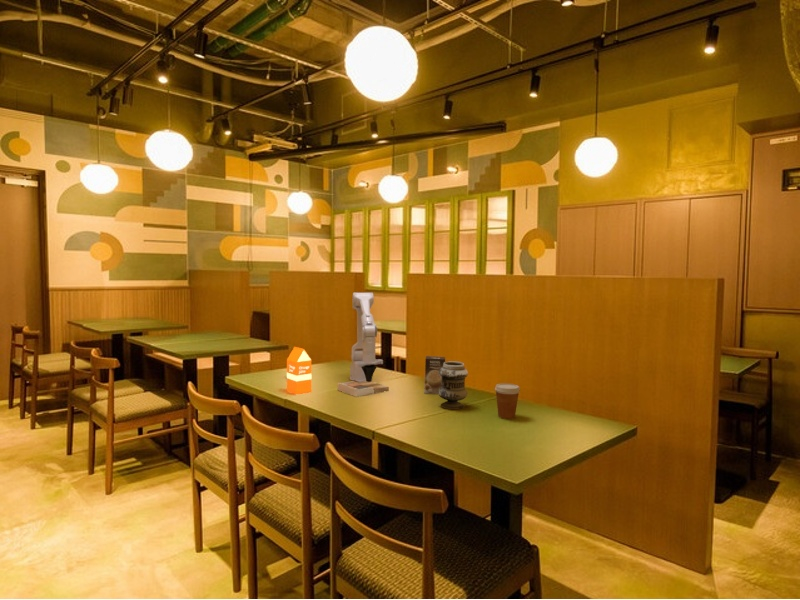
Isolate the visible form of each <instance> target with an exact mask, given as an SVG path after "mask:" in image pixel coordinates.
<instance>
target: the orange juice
mask: <svg viewBox="0 0 800 600" xmlns="http://www.w3.org/2000/svg"><path fill="white" fill-rule="evenodd" d="M312 374H313V373H312V358H311V357H310V355H309V354H308V353H307V351H306V350H305V349H304V348H302V347H299V346H293V349H292V350H291V352H290V353H289V356H288V357H287V358H286V391H287V392H288V391H289V392H288V393H291V394H293V393H294V394H293V395H296V394H299V395H303V393H304V394H308V393H309V392H310V393H312V380H313V379H312Z"/></svg>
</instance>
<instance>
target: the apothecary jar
mask: <svg viewBox="0 0 800 600" xmlns="http://www.w3.org/2000/svg"><path fill="white" fill-rule="evenodd" d="M439 374H440V376H441V377H442V385H441V387H440V389H439V390H438V394H437V395H439V397H440V398H442V399H443V400H446V401H444V402H441V403H440V407H441V408H443V409H445V410H460V409H464V408H465V404H464V403H461V402H460V401H462V400H464V399H466V398H467V396H468V390H467V389H466V382H465V381H466V378H467V377H468V375H469V372H468V370H467V368H465V363H463V362H462V361H453V360H451V361H450V360H449V361H445V362H444V363H443V367H442V368H441V369H440V370H439Z"/></svg>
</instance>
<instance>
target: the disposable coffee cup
mask: <svg viewBox="0 0 800 600" xmlns="http://www.w3.org/2000/svg"><path fill="white" fill-rule="evenodd" d="M494 390H495V394H496V396H495V398H496V405H497V406H496V407H497V416H498V417H499V418H500V417H501V418H500V419H503V418H506V419H505V420H512V419H511V418H513V419H515V418H516V412H517V408H518V407H517V406H518V402H519V401H518V400H519V394H520V391H521V389H520V386H519V385H517V384H514V383H504V382H503V383H498V384H495V388H494Z"/></svg>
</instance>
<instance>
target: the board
mask: <svg viewBox="0 0 800 600" xmlns="http://www.w3.org/2000/svg"><path fill="white" fill-rule="evenodd" d="M357 383H359V384H362V386H364V385H365V386H368V387H373V390H374V394H380V393H379V392H381V393H385V392H384V391H386V392H389V391H390V386H388V385H384V384H382V383H378V382H375V381H373V380H371V382H367V381H363V382H357Z"/></svg>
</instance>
